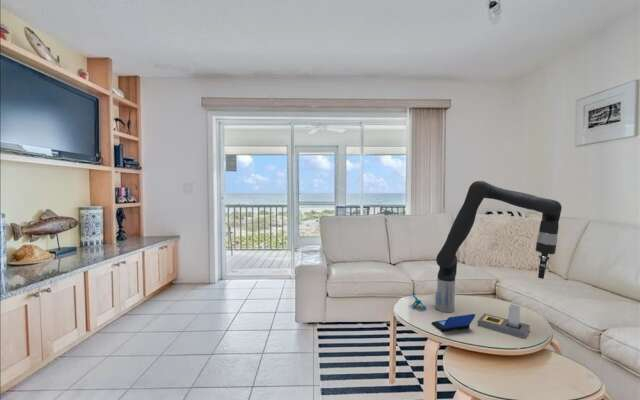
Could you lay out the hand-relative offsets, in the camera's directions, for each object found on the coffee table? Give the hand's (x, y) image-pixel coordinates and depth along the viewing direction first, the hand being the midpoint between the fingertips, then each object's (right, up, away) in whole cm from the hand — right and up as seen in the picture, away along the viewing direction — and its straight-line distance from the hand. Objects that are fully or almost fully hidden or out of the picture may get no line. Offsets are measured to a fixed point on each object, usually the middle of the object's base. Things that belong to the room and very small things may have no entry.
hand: (541, 276), depth 146 cm
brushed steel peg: (-10, -27, +4) cm, 29 cm away
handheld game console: (-39, -27, +7) cm, 48 cm away
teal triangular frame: (-47, -26, +32) cm, 63 cm away
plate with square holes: (-13, -27, +7) cm, 31 cm away
